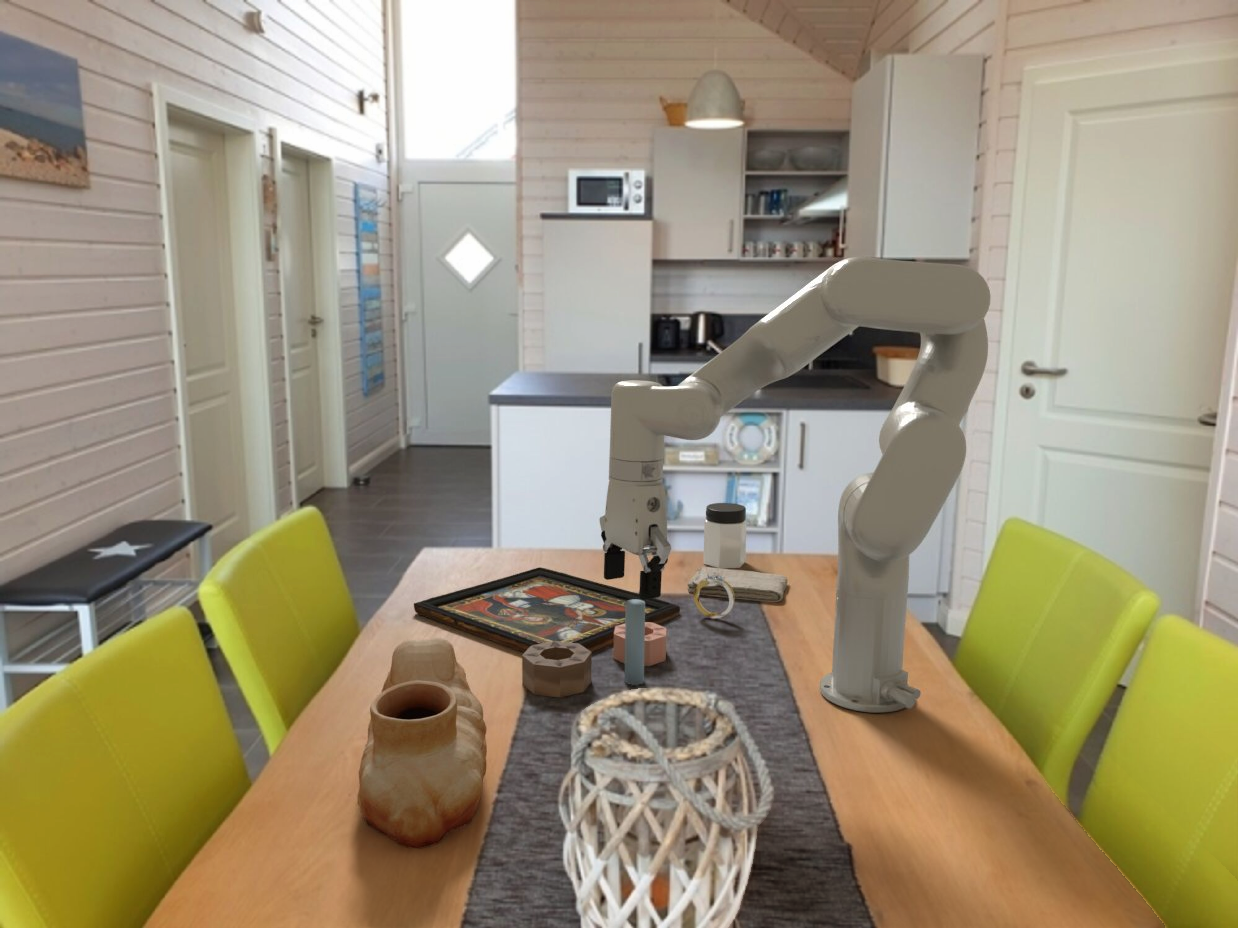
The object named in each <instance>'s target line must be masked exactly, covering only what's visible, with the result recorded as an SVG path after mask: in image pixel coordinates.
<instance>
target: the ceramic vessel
mask: <svg viewBox="0 0 1238 928" xmlns="http://www.w3.org/2000/svg"><path fill="white" fill-rule="evenodd" d="M483 709H484V708H483V705H482V703H481V702H480V700H479V699H478V697H476V695H475V694H474V693H473V692H472V690H471V687H470V685H469V683H468V680H467V674H466V671H465V669H464V667H463V666H462V665H461V664H460V663H459V662H458V661H457V658H456V654H455V650H454V647H453V644H452V643H451V642H450V641H449V640H448V639H445V638H441V637H433V638H429V639H427V638H426V639H425V638H424V639H420V640H419V639H418V640H416V639H406V640H404V641H401V642H400V643H399V644H398V645H397V646H396V647H395V648H394V650H393V652H392V657H391V666H390V670H389V671H388V673H387V675H386V679H385V681H384V683H383V686H382V689H381V692H380V693H379V694H378V695H376V696H375V698H374V699H373V700H372V702H371V705H370V708H369V713H370V721H369V724H368V727H367V742H366V745H365V746H364V749H363V752H362V756H361V761H360V764H359V770H358V780H359V781H358V783H359V787H358V788H359V789H358V792H357V804H358V806H359V807H358V808H359V809H360V812H361V814H362V816H363V818H364V819H365V822H366V825H367V826H368V827H370V828H372V829H373V830H375V831H377V833H380V834H382V835H383V836H385V837H388V838H389V839H392V840H395V842H397V843H398V845H400V846H403V847H405V848H414V849H422V848H426V847H429V846H434V845H437V844H439V843H441V842H442V840H443V839H444V837H445V836H447V835H448V834H449V833H451V832H452V831H453V830H456V829H459V828H461V827H462V828H463V827H464V826H467V825H469V824H470V823H471V821H472V819H473V818H474V815H475V813H476V811H477V809H478V805H479V802H480V800H481V796H482V792H483V780H484V777H485V776H486V772H487V749H488V747H487V739H486V734H487V726H486V725H487V724H486V722H485V720H484V710H483Z"/></svg>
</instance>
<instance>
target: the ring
mask: <svg viewBox="0 0 1238 928" xmlns="http://www.w3.org/2000/svg"><path fill="white" fill-rule="evenodd" d="M719 575H720V574H718V575H716V573H715V572H714V573H713V575H712V576H709V574H707V577H706V578H704V579H703V580H702V581H700V583H699V584H698V586H697V587H696V588H695V590H694V593H693V601H694V604H695V606H696V608H697V610H699V612H700V613H701V614H702V615H704V616H706V617H708V618H710V619H711V620H715V619H721V618H724V617H725V616H727V615H728V614H729V613H730V611H731V610H732V609H733V607H734V605H735V599H736V598H735V596H734V591H733V589H732V587H731V586H730V585H729V584H728V583H727V582H726V581H724V580H725V577H723V579H722V575H721V576H719ZM709 583H712V584H715V583H718V584H720V585H722V586H723V587H724V588H725V589H726V590H727V593H728V596H729V598H728V606H727V608H726V609H725V610H724V611H722V612H719V613H717V612H716V611H708V610H707V609H706V608H705V607H704V606H703V605H702V602H701V600H700V595H699V591H700V589H701V588H702V587H704V586H706V585H709Z"/></svg>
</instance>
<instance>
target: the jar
mask: <svg viewBox="0 0 1238 928" xmlns="http://www.w3.org/2000/svg"><path fill="white" fill-rule="evenodd" d="M705 509H706V510H705V519H704V529H703V530H704V531H703V564H704V565H707V566H708V567H711V568H720V569H721V568H722V569H740V568H741V567H743V565H744V564H745V562H746V553H747V552H746V551H747V524H748V523H747V521H748V519H747V518H746V516H747V508H746V507H745V506H744V505H741V504H739V503H734V502H733V503H732V502H715V503H710V504H707V506H706V508H705Z"/></svg>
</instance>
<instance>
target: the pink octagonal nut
mask: <svg viewBox="0 0 1238 928" xmlns="http://www.w3.org/2000/svg"><path fill="white" fill-rule="evenodd" d="M666 656H667V627H666V626H665V627H664V626H662V625H659V624H655V623H652V622H645V644H644V667H646V666H647V667H650V666H655V665H656V664H659V663H661V662H662V663H663V662H665V661H666V660H667V659H666V658H667V657H666ZM612 659H614V660H616V661H617V662H618V661H619V662H620V663H622V664H624V665H625V624H622V625H618V626H615V630H614V643H613V658H612Z"/></svg>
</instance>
